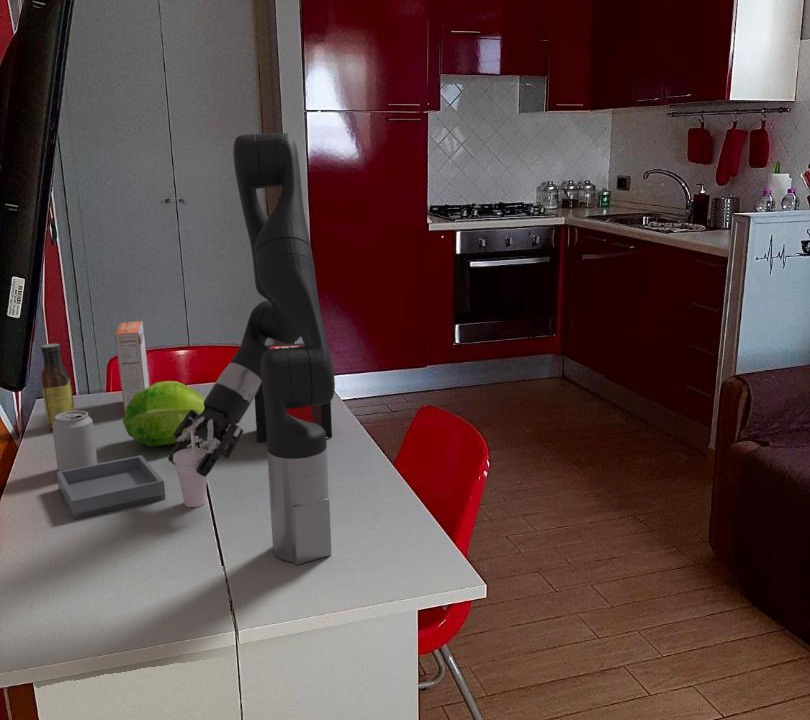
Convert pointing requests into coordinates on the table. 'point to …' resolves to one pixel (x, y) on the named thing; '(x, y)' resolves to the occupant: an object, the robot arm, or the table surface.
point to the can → (74, 440)
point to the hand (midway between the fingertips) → (186, 468)
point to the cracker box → (131, 359)
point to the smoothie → (191, 474)
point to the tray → (110, 486)
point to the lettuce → (160, 412)
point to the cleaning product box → (292, 409)
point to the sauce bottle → (55, 384)
